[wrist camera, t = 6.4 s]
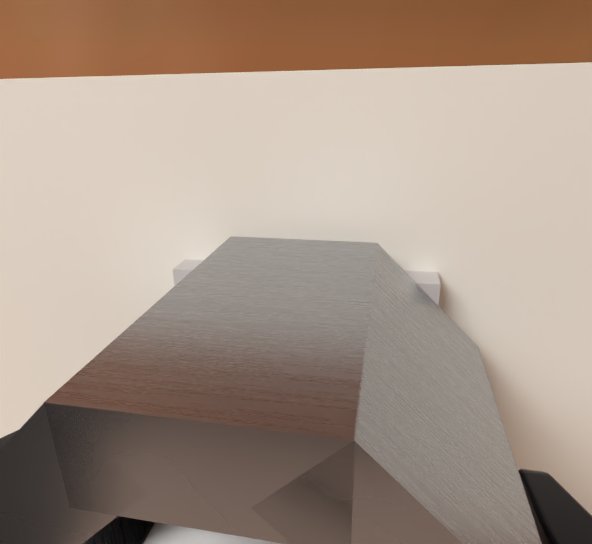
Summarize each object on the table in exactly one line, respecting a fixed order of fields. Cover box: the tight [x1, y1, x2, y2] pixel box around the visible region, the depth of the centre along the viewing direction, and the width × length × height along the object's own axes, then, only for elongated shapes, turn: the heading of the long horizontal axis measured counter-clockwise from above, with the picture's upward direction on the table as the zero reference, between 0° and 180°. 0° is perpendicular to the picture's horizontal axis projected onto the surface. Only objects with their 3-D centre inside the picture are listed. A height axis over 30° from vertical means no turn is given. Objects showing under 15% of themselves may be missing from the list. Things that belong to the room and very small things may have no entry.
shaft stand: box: [0, 63, 592, 544], centre depth 8 cm, size 18×12×7 cm, turn 91°
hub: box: [0, 236, 542, 544], centre depth 7 cm, size 6×6×5 cm
